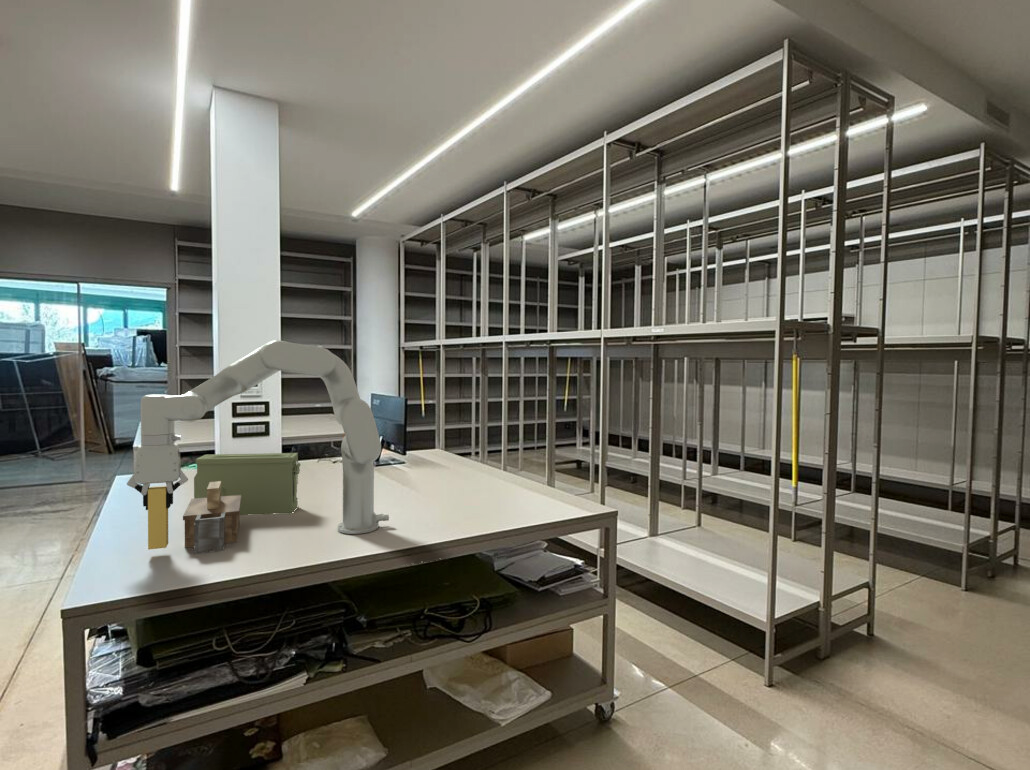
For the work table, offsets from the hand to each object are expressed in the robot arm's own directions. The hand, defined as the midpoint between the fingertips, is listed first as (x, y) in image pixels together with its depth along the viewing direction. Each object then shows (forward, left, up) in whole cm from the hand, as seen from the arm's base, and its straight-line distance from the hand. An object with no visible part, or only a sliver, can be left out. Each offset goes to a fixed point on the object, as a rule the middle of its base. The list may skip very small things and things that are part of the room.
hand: (158, 507), depth 146 cm
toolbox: (-12, -11, -13) cm, 21 cm away
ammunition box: (-21, -38, -13) cm, 46 cm away
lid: (-12, -11, -6) cm, 18 cm away
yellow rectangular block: (0, 0, -11) cm, 11 cm away
